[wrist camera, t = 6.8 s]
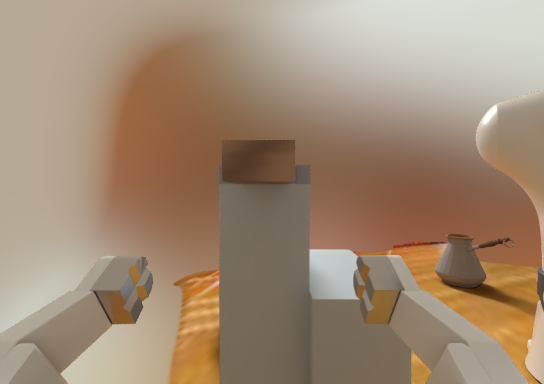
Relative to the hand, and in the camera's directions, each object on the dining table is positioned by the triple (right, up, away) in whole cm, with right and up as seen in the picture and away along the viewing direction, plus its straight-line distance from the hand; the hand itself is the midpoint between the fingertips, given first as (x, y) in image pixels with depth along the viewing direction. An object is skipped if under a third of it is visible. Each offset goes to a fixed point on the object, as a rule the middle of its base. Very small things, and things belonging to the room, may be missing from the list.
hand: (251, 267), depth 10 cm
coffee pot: (+52, -22, +57) cm, 81 cm away
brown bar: (0, +4, +17) cm, 17 cm away
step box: (+4, -22, +22) cm, 32 cm away
